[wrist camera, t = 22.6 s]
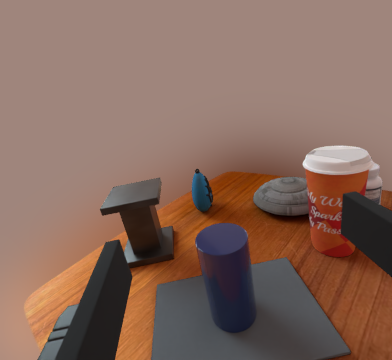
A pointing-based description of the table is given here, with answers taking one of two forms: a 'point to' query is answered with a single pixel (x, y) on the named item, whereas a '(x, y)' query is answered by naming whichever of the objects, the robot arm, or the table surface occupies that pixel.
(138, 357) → the table surface
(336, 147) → the coffee cup
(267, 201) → the flying saucer
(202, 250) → the canister
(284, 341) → the mat
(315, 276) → the table surface
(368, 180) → the pill bottle
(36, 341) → the table surface
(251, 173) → the table surface
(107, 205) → the stand
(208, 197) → the ornament
